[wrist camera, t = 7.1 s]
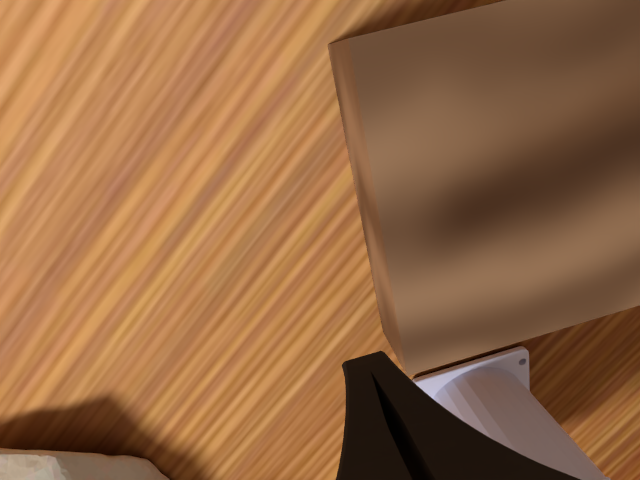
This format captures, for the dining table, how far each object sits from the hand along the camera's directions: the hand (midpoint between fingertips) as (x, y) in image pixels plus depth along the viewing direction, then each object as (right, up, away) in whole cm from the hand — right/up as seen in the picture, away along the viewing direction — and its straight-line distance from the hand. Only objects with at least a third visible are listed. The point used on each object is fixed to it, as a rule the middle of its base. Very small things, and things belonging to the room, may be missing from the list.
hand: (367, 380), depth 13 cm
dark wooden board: (+7, +8, +9) cm, 14 cm away
